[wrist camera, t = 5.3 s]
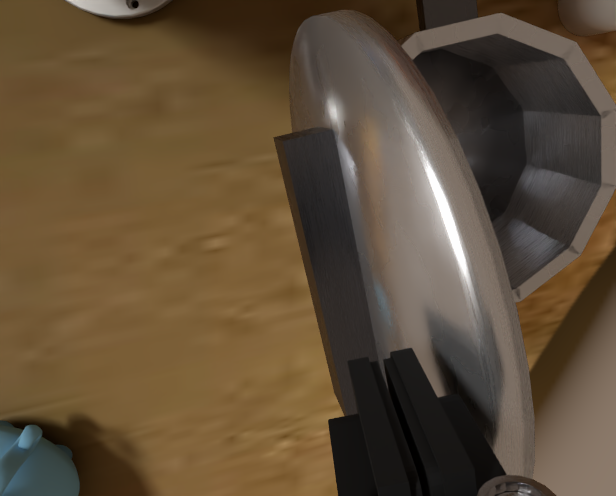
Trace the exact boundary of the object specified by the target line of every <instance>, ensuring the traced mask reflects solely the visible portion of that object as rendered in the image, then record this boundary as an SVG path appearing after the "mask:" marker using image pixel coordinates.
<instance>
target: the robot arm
mask: <svg viewBox="0 0 616 496" xmlns="http://www.w3.org/2000/svg"><path fill="white" fill-rule="evenodd" d="M65 1H66V2H68V3H70V4H72V5H74V6H75V7H77V8H79V9H81V10H84V11H86V12H89V13H91V14H94V15H98V16H102V17H106V18H111V19H131V18H137V17H142V16H146V15H148V14H150V13H153V12H155V11H158V10H160V9H161V8H163V7H164V6H165V5H167V4H168V3H170V2H171V1H173V0H65ZM135 1H138V3H139V6H138V8H134V7H133V3H134V2H135ZM383 362H384V368H385V374H386V379H387V385H388V388H387V386H386V383H385V380H384V377H383V374H382V372H381V369H380V366H379V363H378V361H372V362H370V361H369V358H368V357H363V358H358V359H353V360H348V361H347V363H348V368H349V373H350V378H351V383H352V388H353V392H354V397H355V402H356V407H357V412H358V414H353V415H348V416H344V417H339V418H334V419H329V420H328V423H329V431H330V438H331V446H332V453H333V460H334V468H335V475H336V483H337V490H338V496H556V495H555V494H554V493H553V492H552V491H551V490H550V489H548V488H547V487H546V486H545V485H543V484H541V483H539V482H537V481H535V480H533V479H530V478H527V477H523V476H517V475H507V474H506V472H505V471H504V469H503V467H502V465H501V464H500V462H499V460H498V459H497V457H496V455H495V454H494V452H493V450H492V449H491V447H490V445H489V444H488V442H487V440H486V439H485V437H484V435H483V434H482V432H481V430H480V429H479V427H478V425H477V423H476V422H475V420H474V418H473V417H472V415H471V413H470V412H469V410H468V408H467V407H466V405H465V403H464V402H463V400H462V398H461V397H460V396H459V395H458V394H457V393H456V394H451V395H446V396H441V397H437V395H436V393H435V391H434V389H433V387H432V386H431V384H430V382H429V380H428V378H427V376H426V374H425V372H424V370H423V368H422V366H421V364H420V362H419V360H418V358H417V356H416V355H415V353H414V351H413V349H412V348H406V349H402V350H397V351H392V352H390V358H387V359H383Z"/></svg>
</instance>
